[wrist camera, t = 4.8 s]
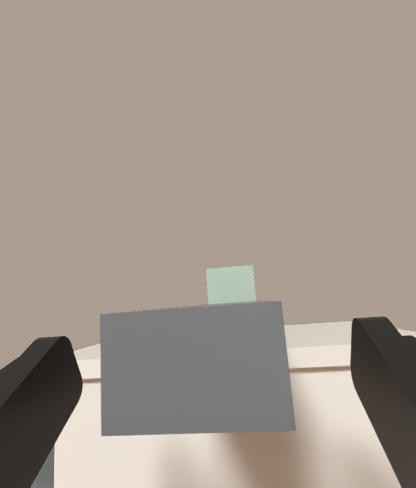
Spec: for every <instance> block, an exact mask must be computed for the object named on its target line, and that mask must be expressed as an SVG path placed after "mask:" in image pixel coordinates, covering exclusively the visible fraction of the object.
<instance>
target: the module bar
mask: <svg viewBox="0 0 416 488" xmlns="http://www.w3.org/2000/svg"><path fill="white" fill-rule="evenodd" d="M206 275H207V289H208V301H209V304H208V305H197V306H186V307H175V308H164V309H153V310H142V311H131V312H121V313H110V314H100V350H101V436H129V435H164V434H198V433H233V432H267V431H296V426H295V417H294V408H293V400H292V391H291V382H290V373H289V365H288V356H287V347H286V338H285V330H284V321H283V313H282V303H281V301H256V294H255V284H254V274H253V265H248V266H236V267H225V268H213V269H206Z"/></svg>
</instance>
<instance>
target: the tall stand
mask: <svg viewBox="0 0 416 488" xmlns="http://www.w3.org/2000/svg"><path fill="white" fill-rule="evenodd" d="M351 328H352V321H347V322H334V323H333V322H332V323H317V324H301V325H287V326H284V330H285V338H286V347H287V356H288V365H289V373H290V382H291V391H292V400H293V408H294V417H295V426H296V431H267V432H233V433H198V434H164V435H129V436H101V350H100V344H97V345H93V346H90V347H87V348H83V349H80V350H76V351H74V354H75V357H76V361H77V364H78V367H79V370H80V373H81V376H82V381H83V388H82V394H81V397H80V400H79V402H78V404H77V405H76V407H75V409H74V411H73V413H72V414H71V416H70V418H69V420H68V421H67V423H66V425H65V427H64V428H63V430H62V432H61V434H60V436H59V437H58V439H57V441H56V443H55V460H54V488H401V485H400V483H399V481H398V479H397V477H396V475H395V473H394V471H393V469H392V466H391V464H390V462H389V460H388V458H387V456H386V454H385V452H384V450H383V447H382V445H381V443H380V441H379V439H378V437H377V435H376V433H375V430H374V428H373V426H372V424H371V422H370V420H369V418H368V416H367V414H366V411H365V409H364V407H363V405H362V403H361V401H360V399H359V397H358V395H357V392H356V390H355V387H354V384H353V381H352V376H351V369H350V360H351ZM397 330H398V332H399V333H400V334H401V335H402V336H406V335H412V336H414V337H416V332H411V331H405V330H401V329H397Z"/></svg>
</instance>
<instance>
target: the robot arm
mask: <svg viewBox="0 0 416 488" xmlns="http://www.w3.org/2000/svg"><path fill="white" fill-rule="evenodd" d="M350 369H351V376H352V381H353V384H354V387H355V390H356V392H357V395H358V397H359V399H360V401H361V403H362V405H363V407H364V409H365V411H366V414H367V416H368V418H369V420H370V422H371V424H372V426H373V428H374V430H375V433H376V435H377V437H378V439H379V441H380V443H381V445H382V447H383V450H384V452H385V454H386V456H387V458H388V460H389V462H390V464H391V466H392V469H393V471H394V473H395V475H396V477H397V479H398V481H399V483H400V485H401V488H416V337H414V336H412V335H406V336H402V335H401V334H400V333H399V332H398V330H397V329H396V328H395V327H394V325H393V324H392V323H391V322H390V321H389V320H388V318H386V317H369V318H354V319H353V321H352V328H351V360H350ZM82 388H83V381H82V376H81V373H80V370H79V367H78V364H77V361H76V357H75V354H74V351H73V348H72V345H71V342H70V341H69V339H68V338H67V337H65V336H59V337H44V338H38V339H36V340H35V341H34V342H33V343H32V344H31V345H30V346H29V347H28V348H27V349H26V350H25V352H24V353H23V354H22V355H21V356H20V357H18V358H17V359H15V360H14V361H13V362H11V363H10V364H8V365H7V366H5V367H4V368H2V369H1V370H0V488H30V487H31V485H32V483H33V481H34V480H35V478H36V476H37V474H38V473H39V471H40V469H41V467H42V466H43V464H44V462H45V460H46V458H47V457H48V455H49V453H50V451H51V450H52V448H53V446H54V444H55V443H56V441H57V439H58V437H59V436H60V434H61V432H62V430H63V428H64V427H65V425H66V423H67V421H68V420H69V418H70V416H71V414H72V413H73V411H74V409H75V407H76V405H77V404H78V402H79V400H80V397H81V394H82Z"/></svg>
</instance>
